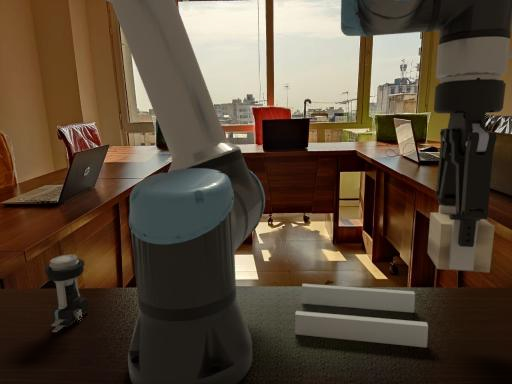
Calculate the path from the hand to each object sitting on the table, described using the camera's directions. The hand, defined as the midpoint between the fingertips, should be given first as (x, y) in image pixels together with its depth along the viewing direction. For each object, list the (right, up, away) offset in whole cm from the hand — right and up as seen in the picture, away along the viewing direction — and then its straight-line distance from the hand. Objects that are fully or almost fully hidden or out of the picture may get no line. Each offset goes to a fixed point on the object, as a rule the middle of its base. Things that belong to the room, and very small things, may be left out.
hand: (452, 258), depth 50 cm
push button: (-55, -11, +7) cm, 56 cm away
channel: (-12, -10, +5) cm, 16 cm away
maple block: (0, 0, 0) cm, 1 cm away
